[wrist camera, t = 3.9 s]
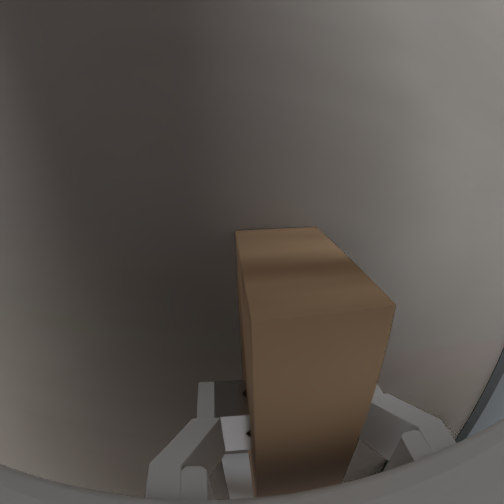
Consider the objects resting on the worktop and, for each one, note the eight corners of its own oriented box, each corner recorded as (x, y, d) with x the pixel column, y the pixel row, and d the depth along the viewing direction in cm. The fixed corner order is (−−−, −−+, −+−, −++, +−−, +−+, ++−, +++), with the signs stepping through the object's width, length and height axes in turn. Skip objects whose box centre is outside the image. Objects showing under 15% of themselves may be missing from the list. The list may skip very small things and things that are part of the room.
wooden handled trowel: (193, 233, 9) (170, 324, 5) (353, 225, 10) (448, 296, 5) (232, 503, 16) (238, 566, 11) (307, 494, 16) (323, 554, 11)
